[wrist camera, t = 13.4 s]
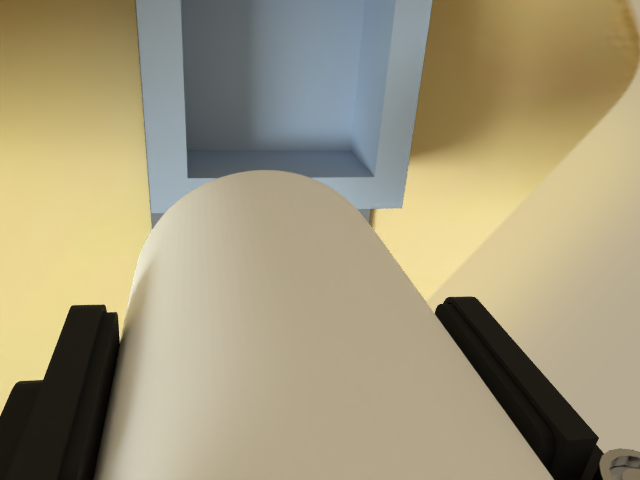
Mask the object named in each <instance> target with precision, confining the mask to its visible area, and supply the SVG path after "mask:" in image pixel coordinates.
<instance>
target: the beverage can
mask: <svg viewBox="0 0 640 480" xmlns="http://www.w3.org/2000/svg"><path fill="white" fill-rule="evenodd" d="M93 480H554V479H553V478H552V476H551V475H550V473H549V472H548V471H547V469H546V468H545V466H544V465H543V464H542V462H541V461H540V459H539V458H538V457H537V455H536V454H535V453H534V451H533V450H532V448H531V447H530V446H529V444H528V443H527V441H526V440H525V439H524V437H523V436H522V434H521V433H520V432H519V430H518V429H517V428H516V426H515V425H514V423H513V422H512V421H511V419H510V418H509V416H508V415H507V414H506V412H505V411H504V409H503V408H502V407H501V405H500V404H499V403H498V401H497V400H496V398H495V397H494V396H493V394H492V393H491V391H490V390H489V389H488V387H487V386H486V384H485V383H484V382H483V380H482V379H481V378H480V376H479V375H478V373H477V372H476V371H475V369H474V368H473V366H472V365H471V364H470V362H469V361H468V359H467V358H466V357H465V355H464V354H463V353H462V351H461V350H460V348H459V347H458V346H457V344H456V343H455V341H454V340H453V339H452V337H451V336H450V335H449V333H448V332H447V330H446V329H445V328H444V326H443V325H442V323H441V322H440V321H439V319H438V318H437V316H436V315H435V314H434V313H433V311H432V310H431V308H430V307H429V305H428V304H427V303H426V301H425V300H424V298H423V297H422V296H421V294H420V293H419V292H418V290H417V289H416V287H415V286H414V285H413V283H412V282H411V280H410V279H409V278H408V276H407V275H406V274H405V272H404V271H403V269H402V268H401V267H400V265H399V264H398V263H397V261H396V260H395V258H394V257H393V256H392V254H391V253H390V252H389V250H388V249H387V247H386V246H385V245H384V243H383V242H382V241H381V239H380V238H379V237H378V235H377V234H376V233H375V231H374V230H373V228H372V227H371V226H370V224H369V223H368V222H367V221H366V219H365V218H364V217H363V216H362V214H361V213H360V212H359V211H358V210H357V209H356V208H355V207H354V205H353V204H351V203H350V202H349V201H348V200H347V199H346V198H345V197H343V196H342V195H341V194H339V193H338V192H337V191H335V190H334V189H332V188H330V187H329V186H327V185H325V184H323V183H321V182H319V181H317V180H315V179H312V178H309V177H306V176H303V175H300V174H296V173H291V172H285V171H276V170H254V171H246V172H240V173H235V174H231V175H227V176H224V177H221V178H218V179H215V180H213V181H210V182H208V183H206V184H204V185H202V186H200V187H198V188H196V189H194V190H193V191H191V192H189V193H188V194H186V195H185V196H184V197H182V198H181V199H180V200H178V201H177V202H176V203H175V204H174V205H173V206H171V207H170V208H169V209H168V210H167V211H166V213H165V214H164V215H163V216H162V217H161V218H160V219H159V221H158V222H157V223H156V225H155V226H154V228H153V229H152V231H151V232H150V234H149V236H148V238H147V240H146V241H145V243H144V246H143V248H142V250H141V253H140V255H139V259H138V262H137V266H136V269H135V273H134V277H133V282H132V287H131V291H130V296H129V301H128V306H127V311H126V316H125V321H124V326H123V331H122V336H121V341H120V346H119V351H118V356H117V361H116V366H115V371H114V377H113V382H112V387H111V392H110V397H109V402H108V407H107V412H106V417H105V422H104V427H103V432H102V437H101V442H100V447H99V452H98V457H97V463H96V468H95V473H94V478H93Z"/></svg>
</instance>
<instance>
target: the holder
mask: <svg viewBox="0 0 640 480" xmlns="http://www.w3.org/2000/svg"><path fill="white" fill-rule="evenodd" d="M432 1H433V0H136V8H137V21H138V35H139V49H140V62H141V76H142V90H143V104H144V117H145V131H146V145H147V158H148V172H149V186H150V200H151V213H166V211H167V210H168V209H169V208H170V207H171V206H173V205H174V204H175V203H176V202H177V201H178V200H180V199H181V198H182V197H184V196H185V195H186V194H188V193H189V192H191V191H193V190H194V189H196V188H198V187H200V186H202V185H204V184H206V183H208V182H210V181H213V180H215V179H218V178H221V177H224V176H227V175H231V174H235V173H240V172H246V171H254V170H276V171H285V172H291V173H296V174H300V175H303V176H306V177H309V178H312V179H315V180H317V181H319V182H321V183H323V184H325V185H327V186H329V187H330V188H332V189H334V190H335V191H337V192H338V193H339V194H341V195H342V196H343V197H345V198H346V199H347V200H348V201H349V202H350V203H351V204H353V205H354V207H355V208H356V209H382V208H402V205H403V198H404V191H405V185H406V178H407V171H408V164H409V157H410V151H411V144H412V137H413V130H414V123H415V117H416V110H417V103H418V96H419V89H420V83H421V76H422V69H423V62H424V56H425V49H426V42H427V35H428V28H429V22H430V15H431V8H432Z"/></svg>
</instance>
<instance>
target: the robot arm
mask: <svg viewBox="0 0 640 480" xmlns="http://www.w3.org/2000/svg"><path fill="white" fill-rule="evenodd" d="M435 315H436V316H437V318H438V319H439V321H440V322H441V323H442V325H443V326H444V328H445V329H446V330H447V332H448V333H449V335H450V336H451V337H452V339H453V340H454V341H455V343H456V344H457V346H458V347H459V348H460V350H461V351H462V353H463V354H464V355H465V357H466V358H467V359H468V361H469V362H470V364H471V365H472V366H473V368H474V369H475V371H476V372H477V373H478V375H479V376H480V378H481V379H482V380H483V382H484V383H485V384H486V386H487V387H488V389H489V390H490V391H491V393H492V394H493V396H494V397H495V398H496V400H497V401H498V403H499V404H500V405H501V407H502V408H503V409H504V411H505V412H506V414H507V415H508V416H509V418H510V419H511V421H512V422H513V423H514V425H515V426H516V428H517V429H518V430H519V432H520V433H521V434H522V436H523V437H524V439H525V440H526V441H527V443H528V444H529V446H530V447H531V448H532V450H533V451H534V453H535V454H536V455H537V457H538V458H539V459H540V461H541V462H542V464H543V465H544V466H545V468H546V469H547V471H548V472H549V473H550V475H551V476H552V478H553V479H554V480H640V452H638V451H635V450H629V449H614V450H609V451H608V452H606V453H605V454H604V453H603V452H602V451H601V450H600V449H599V447H598V446H597V445H596V443H597V441H598V439H599V438H598V436H597V435H596V434H595V433H594V432H593V431H592V429H591V428H590V427H589V426H588V425H587V424H586V423H585V421H584V420H583V419H582V418H581V417H580V416H579V415H578V413H577V412H576V411H575V410H574V409H573V408H572V407H571V405H570V404H569V403H568V402H567V401H566V400H565V399H564V397H562V395H561V394H560V393H559V392H558V391H557V389H556V388H555V387H554V386H553V385H552V384H551V383H550V382H549V380H548V379H547V378H546V377H545V376H544V375H543V374H542V372H541V371H540V370H539V369H538V368H537V367H536V366H535V364H534V363H533V362H532V361H531V360H530V359H529V358H528V357H527V355H526V354H525V353H524V352H523V351H522V350H521V348H520V347H519V346H518V345H517V344H516V343H515V342H514V340H512V338H511V337H510V336H509V335H508V334H507V332H506V331H505V330H504V329H503V328H502V327H501V326H500V324H499V323H498V322H497V321H496V320H495V319H494V318H493V317H492V315H491V314H490V313H489V312H488V311H487V310H486V308H485V307H484V306H483V305H482V304H481V303H480V302H479V301H478V299H476V298H475V297H448V298H446V300H445V301H444V303H443V304H440V305H438V306H437V308H436V311H435ZM119 346H120V340H119V325H118V315H117V312H109V313H107V311H106V306H105V305H73V306H71V308H70V310H69V313H68V315H67V318H66V321H65V323H64V326H63V329H62V331H61V334H60V337H59V339H58V342H57V345H56V347H55V350H54V353H53V355H52V358H51V361H50V363H49V366H48V369H47V371H46V374H45V377H44V379H43V380H35V381H19V382H18V383H16V384H15V386H14V387H13V389H12V391H11V393H10V395H9V398H8V400H7V402H6V404H5V407H4V409H3V411H2V413H1V416H0V480H93V478H94V473H95V468H96V463H97V457H98V452H99V447H100V442H101V437H102V432H103V427H104V422H105V417H106V412H107V407H108V402H109V397H110V392H111V387H112V382H113V377H114V371H115V366H116V361H117V356H118V351H119Z"/></svg>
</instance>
